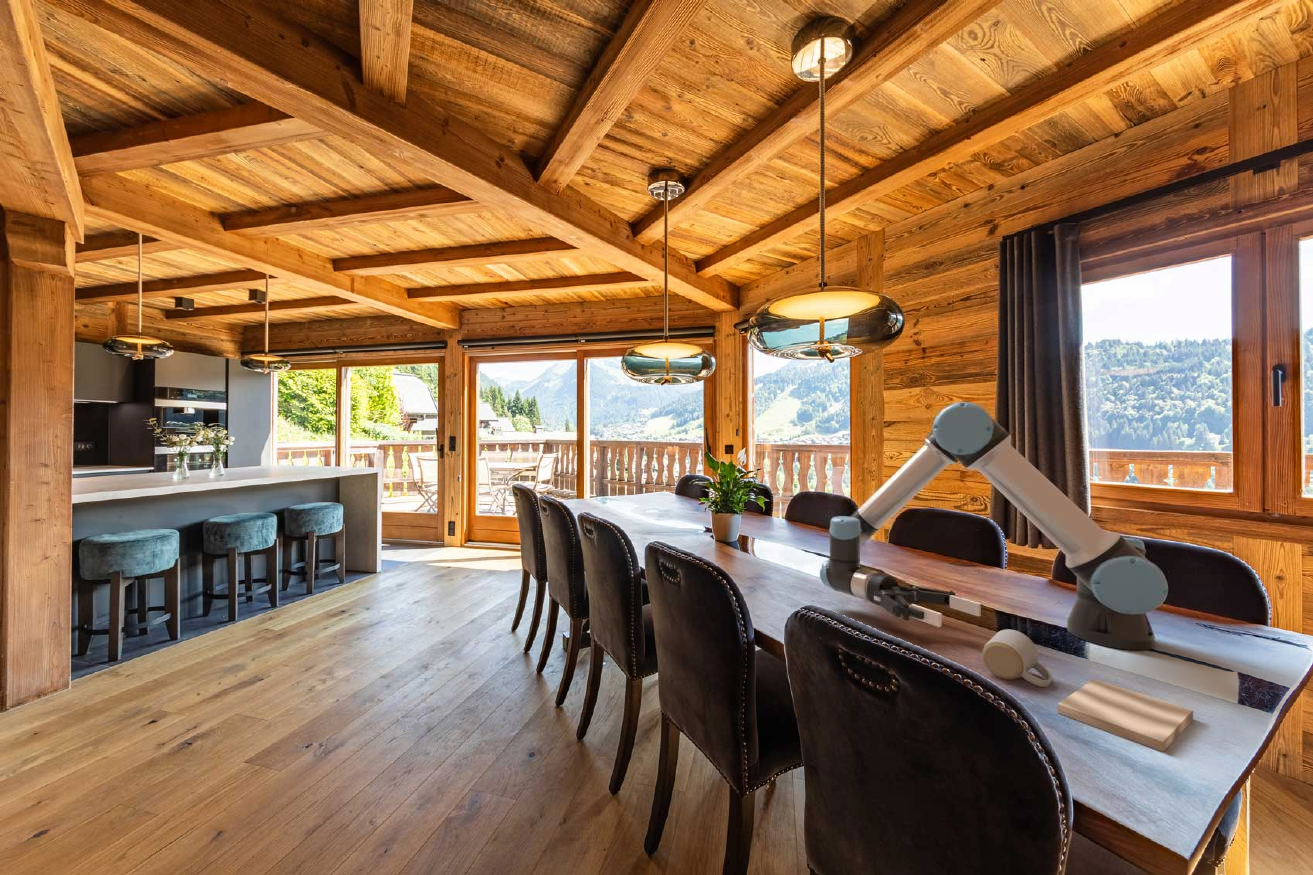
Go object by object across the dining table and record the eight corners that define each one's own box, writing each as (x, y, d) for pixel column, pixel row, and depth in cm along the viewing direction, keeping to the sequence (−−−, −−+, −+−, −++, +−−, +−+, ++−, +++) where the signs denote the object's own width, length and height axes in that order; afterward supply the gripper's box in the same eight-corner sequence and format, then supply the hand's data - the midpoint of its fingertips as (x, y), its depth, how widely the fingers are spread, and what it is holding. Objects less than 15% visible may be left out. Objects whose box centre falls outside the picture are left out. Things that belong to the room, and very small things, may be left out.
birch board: (1093, 687, 97) (1093, 678, 97) (1193, 719, 86) (1193, 710, 86) (1057, 712, 88) (1057, 703, 88) (1162, 752, 77) (1163, 741, 77)
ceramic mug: (979, 673, 102) (980, 634, 102) (993, 661, 108) (994, 624, 108) (1045, 694, 94) (1046, 652, 94) (1057, 680, 100) (1058, 640, 100)
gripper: (908, 595, 135) (994, 622, 117) (838, 610, 123) (922, 643, 105) (908, 566, 135) (995, 589, 116) (839, 578, 123) (922, 606, 105)
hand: (960, 615), depth 111 cm, fingers open, 13 cm apart
